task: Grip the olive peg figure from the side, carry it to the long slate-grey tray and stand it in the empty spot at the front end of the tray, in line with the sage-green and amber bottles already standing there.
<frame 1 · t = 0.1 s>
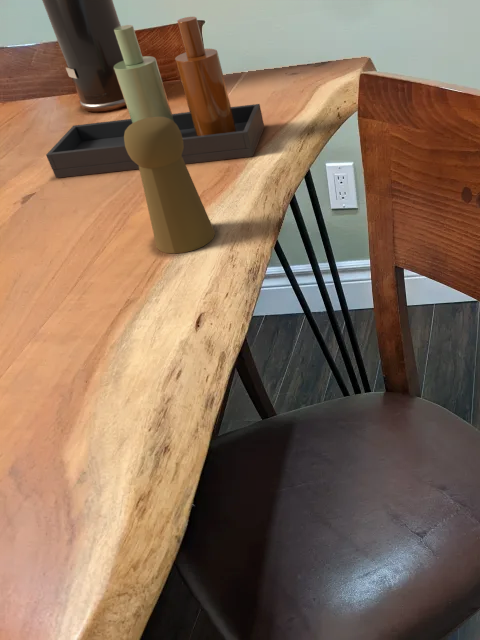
olive peg figure: (186, 240, 70), on the table
sage bottle: (160, 143, 88), point 1 cm above the table, touching tray
amber bottle: (217, 137, 87), point 1 cm above the table, touching tray
tray: (162, 152, 88), on the table
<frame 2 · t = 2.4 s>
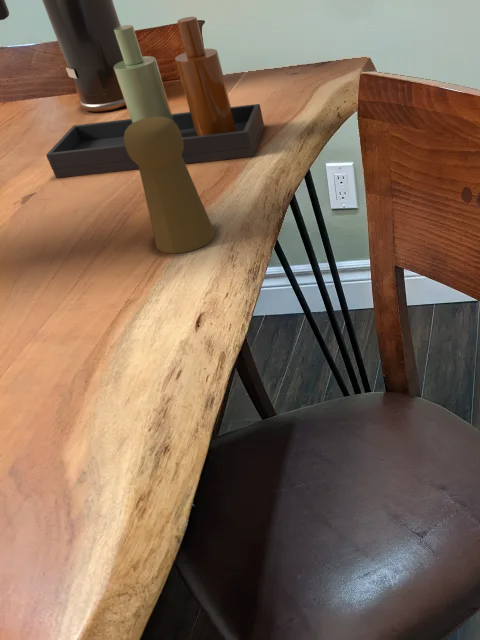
nothing on the table moved.
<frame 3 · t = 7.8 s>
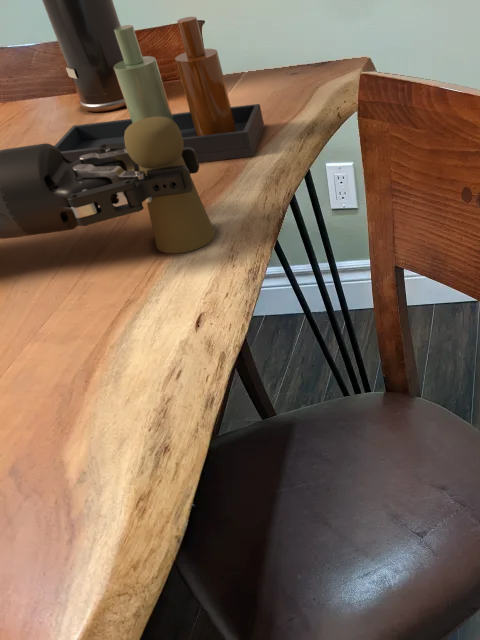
hand: (192, 168, 65), 6 cm above the table, tool horizontal, fingers closed on olive peg figure, 4 cm apart
olive peg figure: (186, 240, 70), on the table, touching gripper
everything else where it was.
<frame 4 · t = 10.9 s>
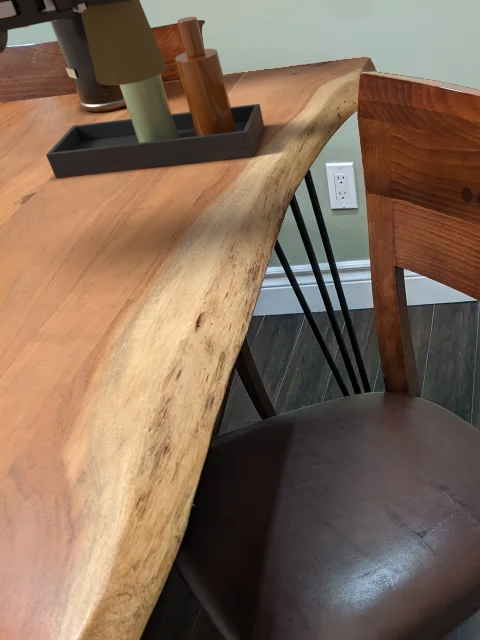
olive peg figure: (132, 76, 59), point 15 cm above the table, touching gripper
everything else where it was.
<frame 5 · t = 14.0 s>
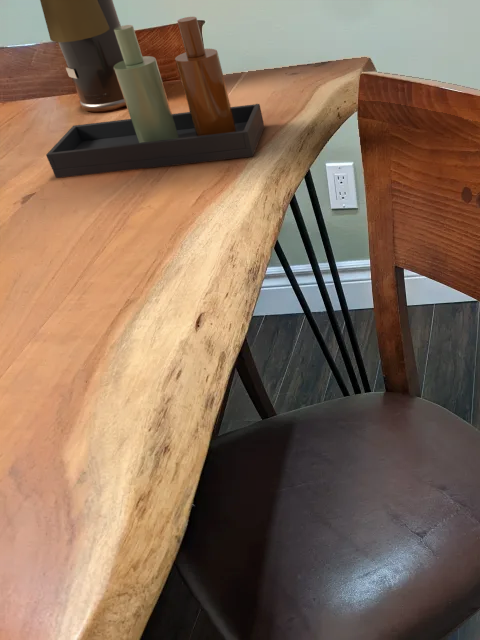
olive peg figure: (81, 35, 71), point 15 cm above the table, touching gripper
everything else where it was.
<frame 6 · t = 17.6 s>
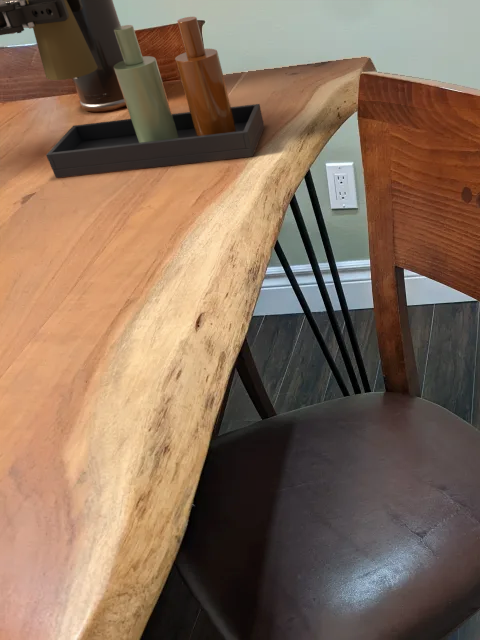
hand: (71, 3, 77), 16 cm above the table, tool horizontal, fingers closed on olive peg figure, 4 cm apart
olive peg figure: (72, 74, 82), point 10 cm above the table, touching gripper
everything else where it was.
when the fingers open (8 cm above the table, at t = 20.3 s): olive peg figure stays where it is, resting on tray.
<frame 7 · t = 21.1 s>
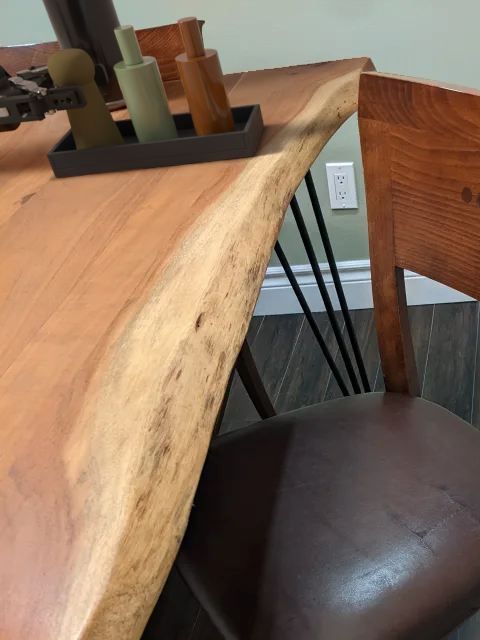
hand: (95, 84, 83), 8 cm above the table, tool horizontal, fingers open, 8 cm apart
olive peg figure: (103, 152, 88), point 1 cm above the table, touching tray
everything else where it was.
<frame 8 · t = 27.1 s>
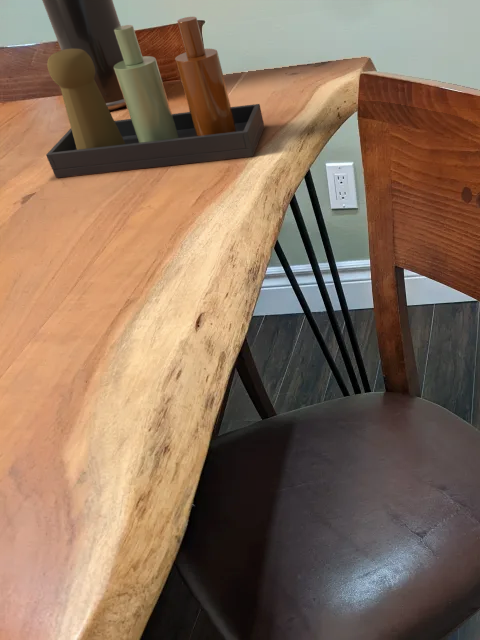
nothing on the table moved.
at the end: olive peg figure 0.2 cm from the target spot in the tray, point 0.8 cm above the tray's base; olive peg figure tilted 0°; the gripper is holding nothing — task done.
